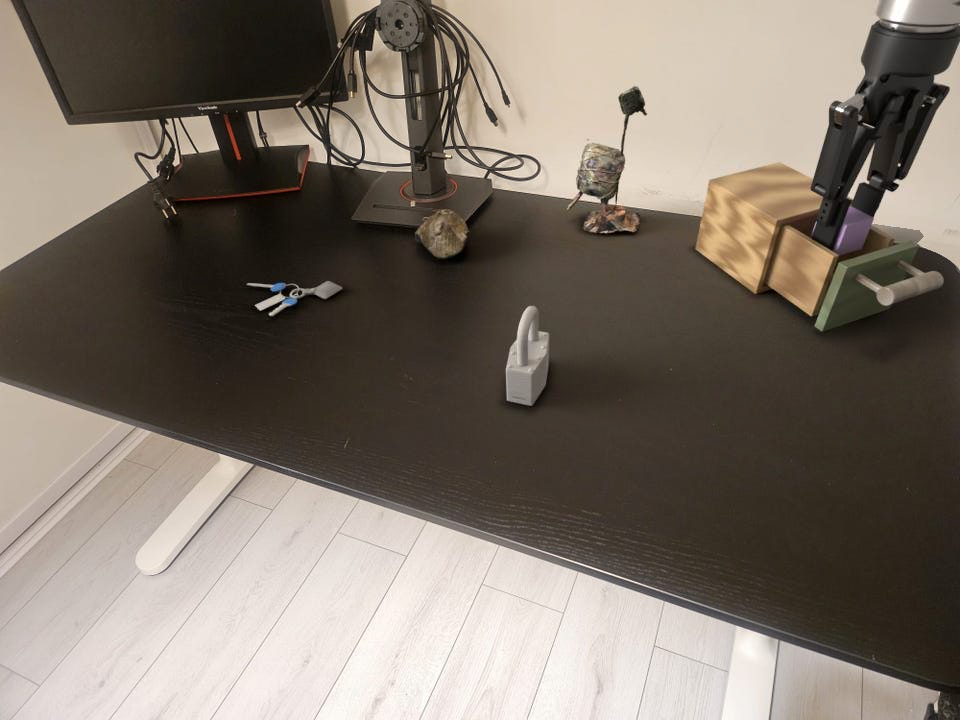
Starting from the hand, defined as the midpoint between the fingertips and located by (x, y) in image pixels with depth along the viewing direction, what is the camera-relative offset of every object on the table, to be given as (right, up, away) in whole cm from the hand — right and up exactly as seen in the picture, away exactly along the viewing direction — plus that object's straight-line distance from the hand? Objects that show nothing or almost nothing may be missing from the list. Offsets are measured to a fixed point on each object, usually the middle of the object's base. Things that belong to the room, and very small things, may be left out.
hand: (836, 242), depth 72 cm
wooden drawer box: (-3, 0, +13) cm, 13 cm away
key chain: (-68, -6, +12) cm, 69 cm away
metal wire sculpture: (-23, +7, +23) cm, 33 cm away
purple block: (0, 0, 0) cm, 0 cm away
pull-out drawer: (+1, -7, +3) cm, 8 cm away
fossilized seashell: (-48, +3, +20) cm, 52 cm away
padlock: (-37, -17, -3) cm, 40 cm away
